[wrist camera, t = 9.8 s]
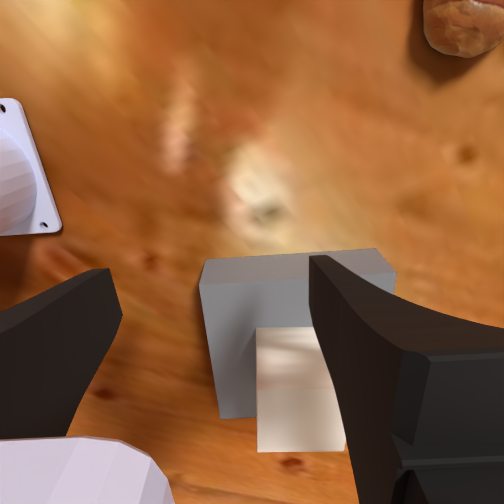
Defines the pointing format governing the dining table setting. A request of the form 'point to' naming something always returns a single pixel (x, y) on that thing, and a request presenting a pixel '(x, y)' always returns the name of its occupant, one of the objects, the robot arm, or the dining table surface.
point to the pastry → (463, 25)
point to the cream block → (295, 393)
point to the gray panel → (263, 311)
